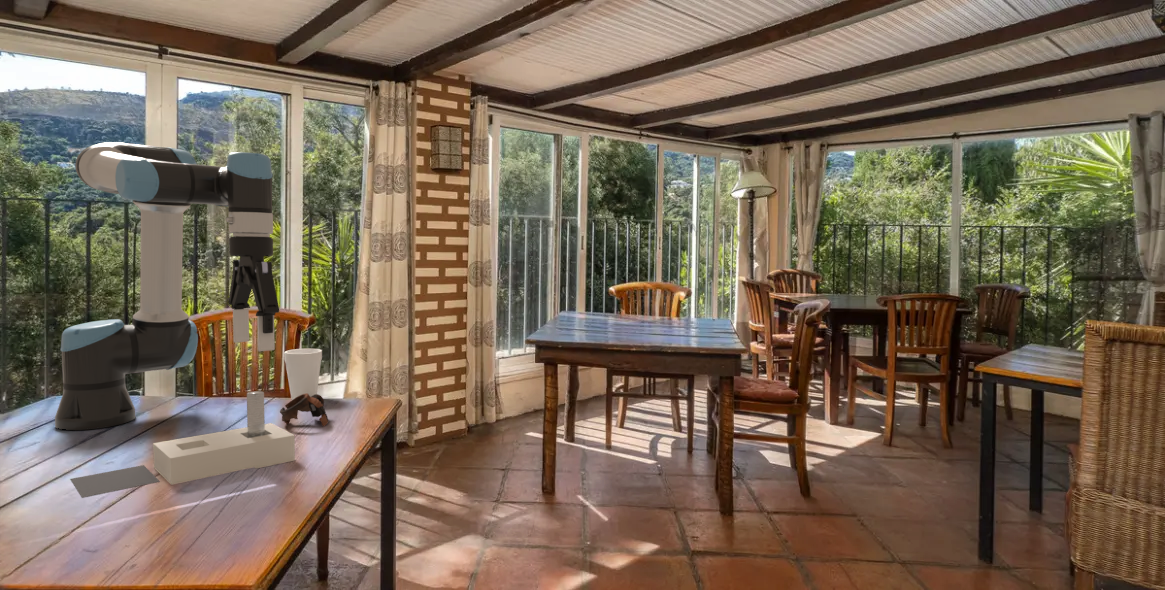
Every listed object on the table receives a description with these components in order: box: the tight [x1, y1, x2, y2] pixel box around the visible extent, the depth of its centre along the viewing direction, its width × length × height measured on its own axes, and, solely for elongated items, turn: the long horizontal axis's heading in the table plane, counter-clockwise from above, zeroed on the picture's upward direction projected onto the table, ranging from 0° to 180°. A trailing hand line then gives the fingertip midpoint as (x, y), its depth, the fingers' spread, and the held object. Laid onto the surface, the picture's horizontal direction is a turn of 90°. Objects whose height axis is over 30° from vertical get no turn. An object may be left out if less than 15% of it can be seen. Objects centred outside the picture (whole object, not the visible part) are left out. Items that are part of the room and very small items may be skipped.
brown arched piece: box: [279, 393, 330, 427], centre depth 157 cm, size 12×10×8 cm
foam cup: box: [283, 348, 323, 401], centre depth 181 cm, size 10×9×13 cm
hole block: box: [152, 422, 296, 486], centre depth 127 cm, size 12×21×5 cm, turn 135°
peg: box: [246, 390, 266, 438], centre depth 130 cm, size 3×3×13 cm
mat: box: [69, 464, 161, 499], centre depth 117 cm, size 12×11×1 cm
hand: (253, 346), depth 129 cm, fingers open, 13 cm apart
